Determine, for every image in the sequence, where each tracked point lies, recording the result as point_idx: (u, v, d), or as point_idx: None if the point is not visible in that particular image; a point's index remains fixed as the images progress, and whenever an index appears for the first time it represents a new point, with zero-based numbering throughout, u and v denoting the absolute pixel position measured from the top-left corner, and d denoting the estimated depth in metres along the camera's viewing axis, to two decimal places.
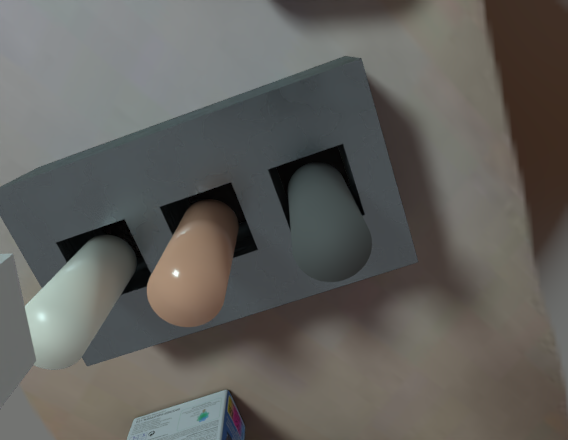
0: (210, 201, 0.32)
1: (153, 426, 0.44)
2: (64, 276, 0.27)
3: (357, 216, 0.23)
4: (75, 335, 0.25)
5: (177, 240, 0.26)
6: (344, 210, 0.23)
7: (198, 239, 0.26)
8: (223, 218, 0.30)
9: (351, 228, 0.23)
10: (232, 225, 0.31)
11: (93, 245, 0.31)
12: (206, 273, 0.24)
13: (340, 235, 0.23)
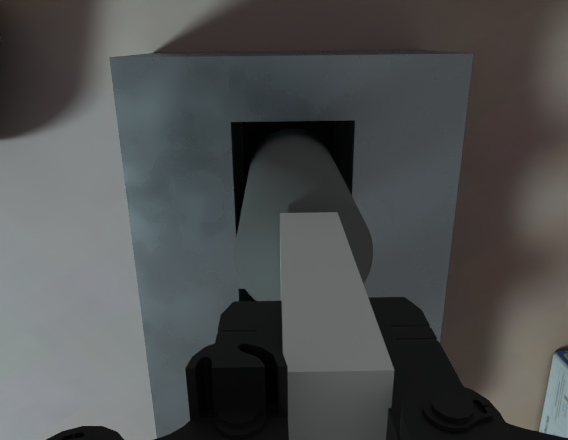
0: None
1: None
2: None
3: (265, 202, 0.13)
4: None
5: None
6: (246, 220, 0.13)
7: None
8: None
9: None
10: None
11: None
12: None
13: None
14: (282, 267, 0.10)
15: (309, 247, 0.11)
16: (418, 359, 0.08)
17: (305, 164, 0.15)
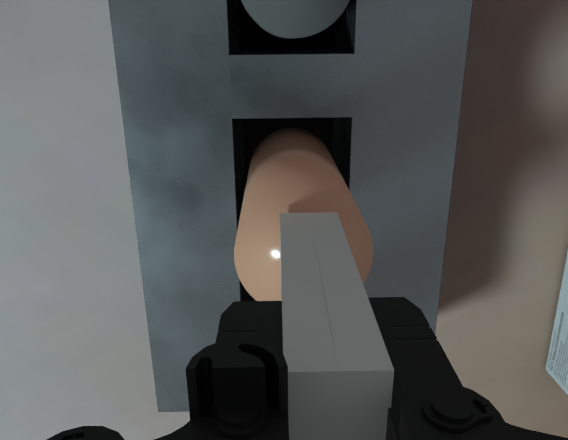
0: (252, 156, 0.22)
1: None
2: None
3: None
4: None
5: None
6: None
7: (247, 195, 0.15)
8: (269, 145, 0.19)
9: None
10: (286, 137, 0.20)
11: None
12: (278, 208, 0.13)
13: None
14: (282, 267, 0.10)
15: (309, 247, 0.11)
16: (418, 359, 0.08)
17: None
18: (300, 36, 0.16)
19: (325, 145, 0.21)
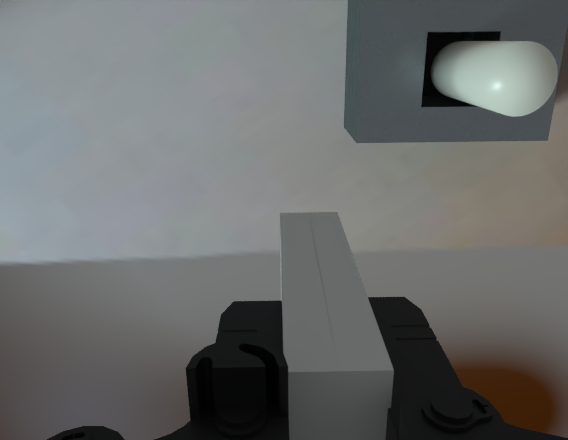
0: None
1: None
2: (465, 68, 0.28)
3: None
4: (531, 52, 0.25)
5: None
6: None
7: None
8: None
9: None
10: None
11: (440, 65, 0.33)
12: None
13: None
14: (282, 267, 0.10)
15: (309, 247, 0.11)
16: (418, 359, 0.08)
17: None
18: None
19: None
